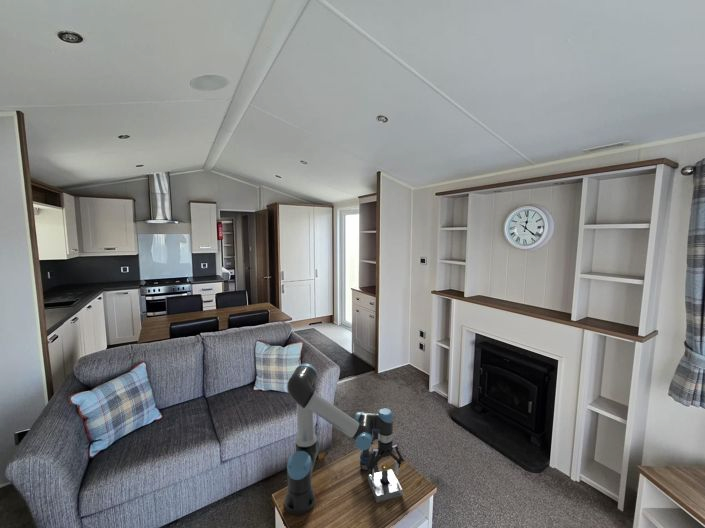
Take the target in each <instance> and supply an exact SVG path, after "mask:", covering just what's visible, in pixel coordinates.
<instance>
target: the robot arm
mask: <svg viewBox="0 0 705 528" xmlns="http://www.w3.org/2000/svg"><path fill="white" fill-rule="evenodd" d="M317 378H318V373H317V369H316V368H315V367H314V366H313V365H312V364H309V363H307V362H306V363H301V364H299V365H298V366H297V367H296V368H295V370H294V371H293V373H292V375H291V376H290V378H289V379H288V382H287V385H286V388H287V392H288V395H289V396H290V398H291V400H293V401H294V402H295V403H296V417H297V418H296V421H297V423H296V424H297V436H296V437H295V439H294V440H295V441H294V442H295V445H294V447H295V449H294V450H295V451H294V453H292V454H291V455H290V456H289V457H288V460H287V464H286V472H287V490H286V494H285V496H284V508H285V510H286V511H287V513H289V514H291V515H295V516H301V515H305V514H307V513H308V512H310V511H311V510H312V509H313V507H314V506H315V503H316V494H315V490H314V488H313V485H312V473H313V470H314V466H315V463H316V460H317V456H318V454H319V452H320V442H319V439H318V437H317V435H316V434H315V425H314V422H315V421H314V414H315V415H317V416H318V417H320V418H322V419H323V420H325V421H326V422H327V423H329V424H330V425H331V426H333V427H334V428H336V429H337V430H339V431H340V432H342V433H343V434H345V435H346V436H348V437H349V438H351V439H352V440H354V442H355V447H356V448H357V449H359V450H361V451H363V450H367V449H369V450H370V448H371V446H372V445H371V442H372V432H373V429H378V440H377V449H375V448H374V447H373V448H372V449H371V452H372V453H371V455H370V457H369V459H368V462H367V464H366V467H367V469H369V470H368V471H369V472H368V473H369V474H371V478H372V481H374V473H375V471H374V467H375V465H376V464H377V465H378V462H380V460H382V458H385V457H389V456H390V457H392V459H394V474H396V475H395V476H396V477H397V476H399V469H400V468H401V465H402V462H404V460H405V459H404V458H403V457H402V455H401V453H400V451H399V447H398V445H397V443H395V444H393V437H394V436H393V432H394V431H393V430H394V413H393V411H392V410H391V409H390V408H387V407H383V408H380V409H378V412H368V411H367V412H366V411H357V412H356V413H355V415H354V418H353V417H351V416H350V415H348V414H347V413H345V412H344V411H343V410H341V409H340V408H338V407H337V406H335V405H334V404H333V403H331V402H330V401H328V400H327V399H325V398H324V397H322V396H320V395H319V394H318V393H317V390H316V379H317ZM393 450H394V451H395V453H396V454H397V455H398V456H397V455H396V454H395V453H394V452H393Z"/></svg>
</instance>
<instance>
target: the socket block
mask: <svg viewBox="0 0 705 528" xmlns="http://www.w3.org/2000/svg"><path fill="white" fill-rule="evenodd" d="M367 483H368V484H369V487H370V489H371V491H372V494H373V496H374V498H375V502H376V503H379V502H383V501H387V500H392V499H395V498H399V497H403V488H402V486H401V484H400V482H399V480H398V478H397V475H395V472H394V471H393V469H388V485H384V486H382V471H379V472H374V481H372V478H371V474H370V473H369V474H368V475H367Z"/></svg>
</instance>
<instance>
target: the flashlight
mask: <svg viewBox="0 0 705 528" xmlns="http://www.w3.org/2000/svg"><path fill="white" fill-rule="evenodd" d="M380 469H381V472H382V486H384V485H388V470H389V467H388V465H386V464H382V465H381V468H380Z"/></svg>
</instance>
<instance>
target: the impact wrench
mask: <svg viewBox="0 0 705 528" xmlns="http://www.w3.org/2000/svg"><path fill="white" fill-rule="evenodd" d="M376 441H378V429H373V432H372V442H371V446H372V445H373V444H374V442H376ZM371 453H372V451H370V448H369V449H367V450H361V452H360V456H359V459H360V460H359V466H360V469H361V470H366V471H369V469H367V467H366V464H367V462H368V459H369V457H370V455H371ZM377 469H378V463H377V464H376V465H375V467H374V472H376V471H377Z"/></svg>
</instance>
